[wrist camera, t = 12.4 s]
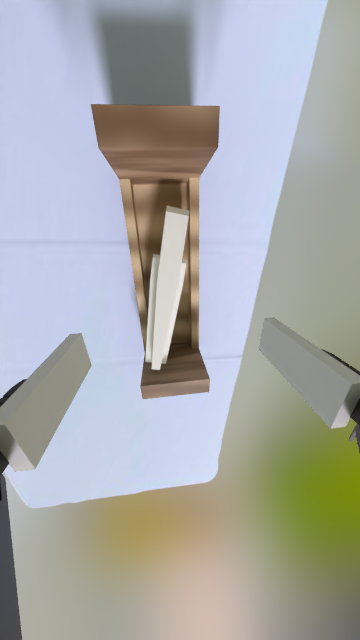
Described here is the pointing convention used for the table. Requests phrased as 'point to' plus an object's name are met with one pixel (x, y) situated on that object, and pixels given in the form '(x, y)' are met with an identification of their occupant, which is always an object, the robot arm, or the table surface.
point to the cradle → (162, 216)
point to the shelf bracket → (166, 286)
